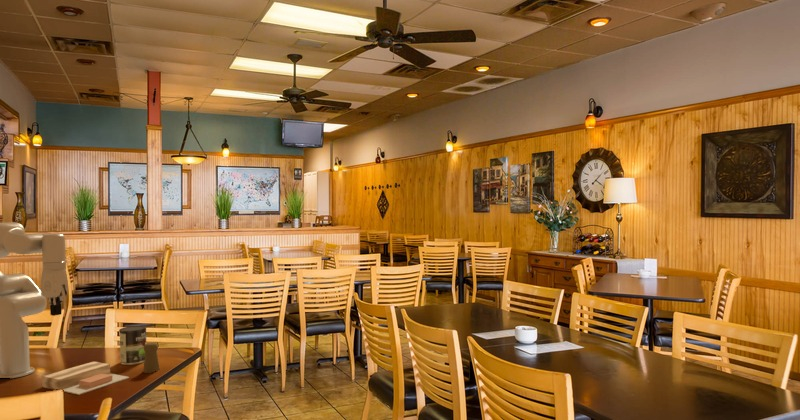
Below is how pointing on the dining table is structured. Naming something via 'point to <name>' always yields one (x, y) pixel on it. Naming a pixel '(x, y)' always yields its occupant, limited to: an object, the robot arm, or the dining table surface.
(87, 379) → the terracotta tile
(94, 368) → the birch board
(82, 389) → the grey mat
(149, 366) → the cork
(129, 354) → the coffee can
